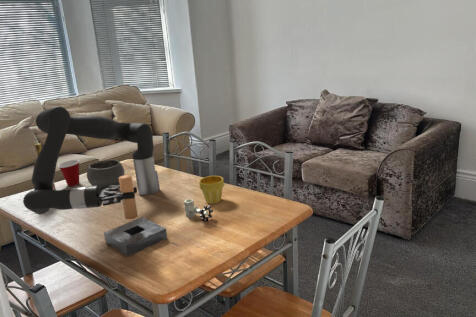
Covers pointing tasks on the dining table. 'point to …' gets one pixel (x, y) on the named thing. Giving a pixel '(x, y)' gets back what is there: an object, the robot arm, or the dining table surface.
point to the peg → (128, 204)
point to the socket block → (135, 236)
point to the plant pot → (212, 188)
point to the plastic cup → (70, 172)
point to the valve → (197, 210)
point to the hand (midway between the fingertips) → (135, 192)
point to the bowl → (105, 173)
